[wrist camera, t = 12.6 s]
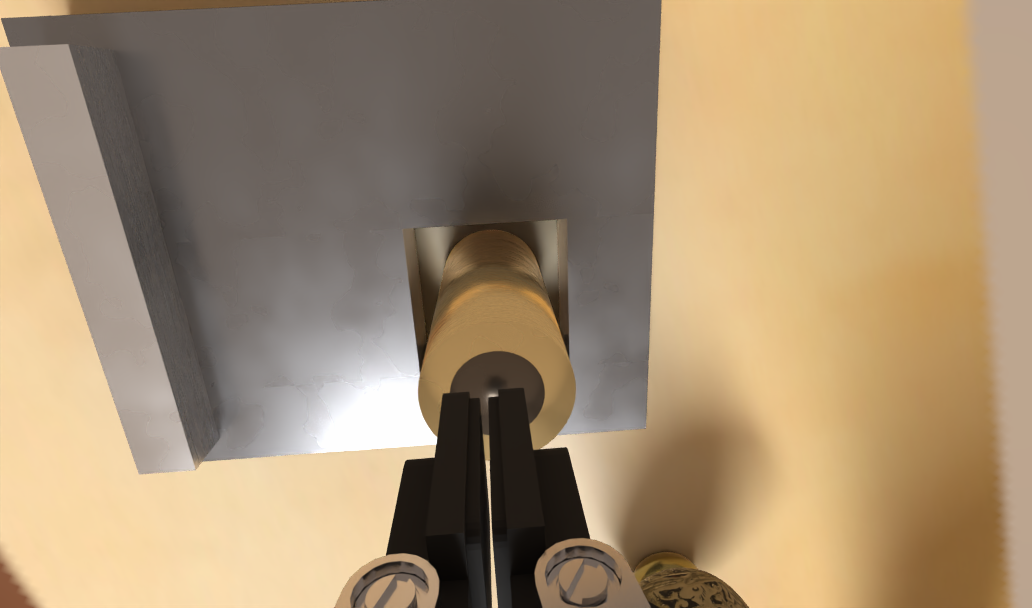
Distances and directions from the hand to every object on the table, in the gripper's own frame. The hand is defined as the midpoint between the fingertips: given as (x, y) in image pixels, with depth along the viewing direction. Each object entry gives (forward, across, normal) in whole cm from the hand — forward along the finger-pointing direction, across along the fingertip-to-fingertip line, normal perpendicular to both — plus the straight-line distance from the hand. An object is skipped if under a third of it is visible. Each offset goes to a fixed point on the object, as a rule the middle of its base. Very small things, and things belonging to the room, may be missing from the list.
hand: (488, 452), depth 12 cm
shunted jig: (+13, +4, -2) cm, 13 cm away
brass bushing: (+13, 0, 0) cm, 13 cm away
